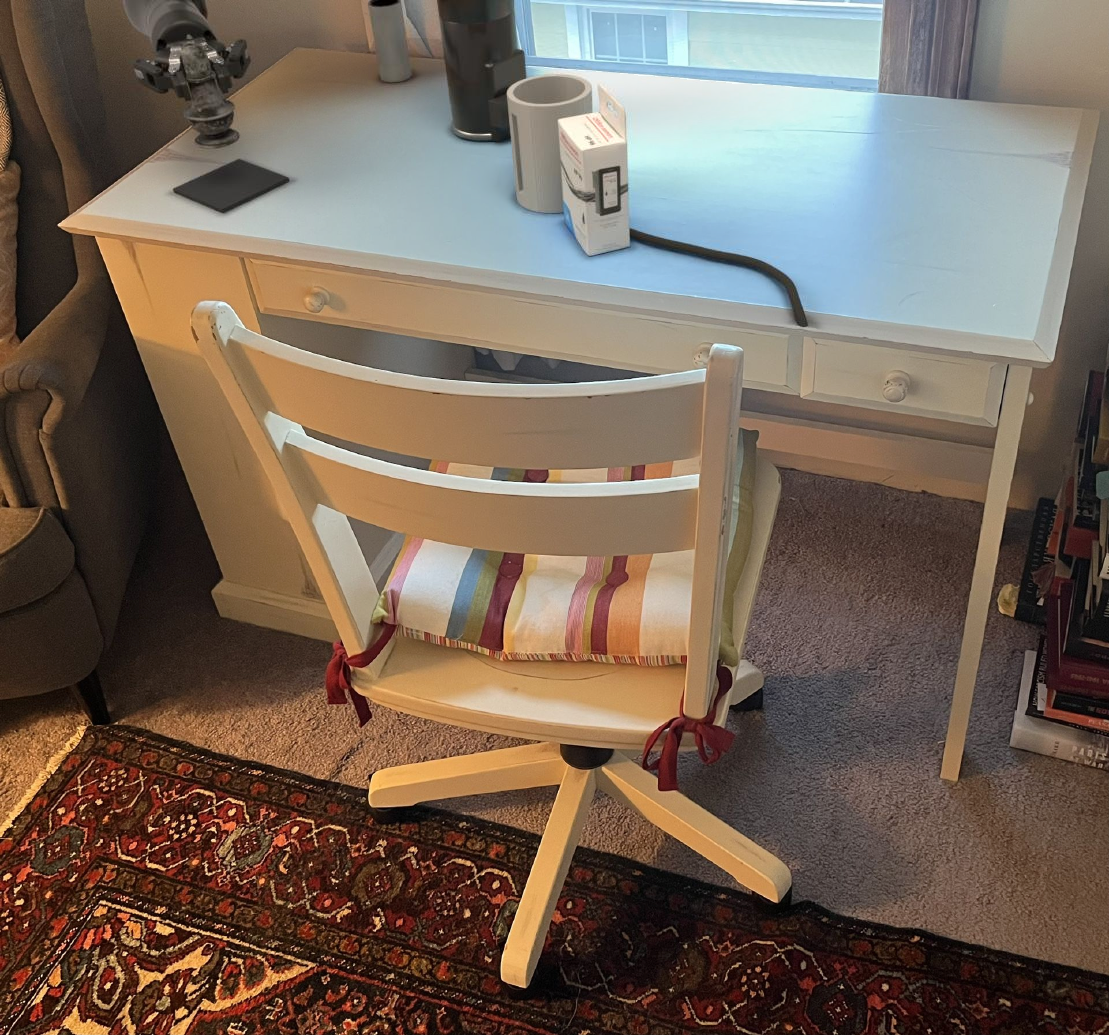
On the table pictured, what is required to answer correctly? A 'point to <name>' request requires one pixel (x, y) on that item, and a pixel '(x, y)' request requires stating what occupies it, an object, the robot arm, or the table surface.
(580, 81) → the cup
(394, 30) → the grey tall cylinder
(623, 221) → the ink box
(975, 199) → the table surface
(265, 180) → the mat
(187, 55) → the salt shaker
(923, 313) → the table surface
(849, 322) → the table surface
